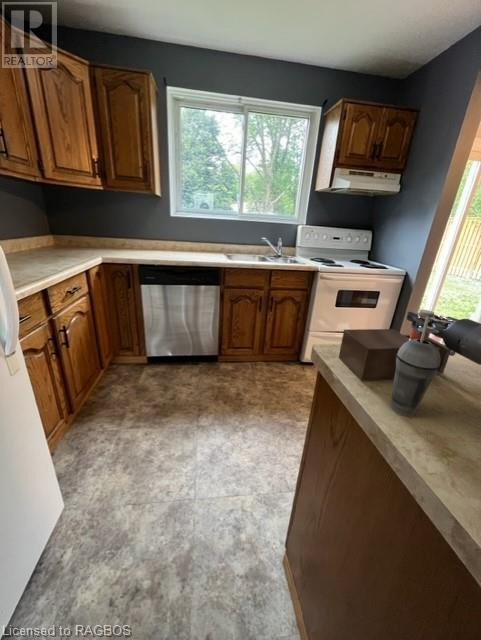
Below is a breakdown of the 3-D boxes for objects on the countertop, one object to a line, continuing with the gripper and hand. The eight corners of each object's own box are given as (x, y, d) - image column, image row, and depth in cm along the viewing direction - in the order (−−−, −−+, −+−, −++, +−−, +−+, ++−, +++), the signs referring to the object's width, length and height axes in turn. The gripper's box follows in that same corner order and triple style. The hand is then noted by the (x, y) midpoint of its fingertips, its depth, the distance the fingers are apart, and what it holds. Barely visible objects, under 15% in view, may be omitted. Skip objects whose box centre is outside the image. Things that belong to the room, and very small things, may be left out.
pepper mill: (418, 339, 73) (427, 309, 70) (430, 345, 69) (440, 314, 66) (405, 339, 72) (413, 308, 69) (416, 345, 69) (425, 314, 66)
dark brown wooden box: (385, 356, 78) (393, 329, 75) (415, 378, 68) (425, 347, 65) (338, 357, 76) (344, 329, 73) (361, 380, 65) (368, 348, 62)
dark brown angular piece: (426, 353, 79) (433, 332, 77) (457, 372, 70) (466, 348, 67) (370, 355, 77) (376, 333, 74) (395, 374, 67) (402, 350, 65)
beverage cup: (387, 417, 53) (415, 322, 46) (379, 395, 60) (402, 310, 53) (428, 424, 52) (463, 328, 45) (415, 401, 59) (443, 314, 52)
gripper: (514, 325, 55) (444, 301, 71) (453, 326, 53) (395, 301, 69) (500, 358, 58) (435, 328, 73) (442, 360, 56) (388, 328, 71)
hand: (416, 315), depth 71 cm, fingers closed on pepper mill, 4 cm apart
